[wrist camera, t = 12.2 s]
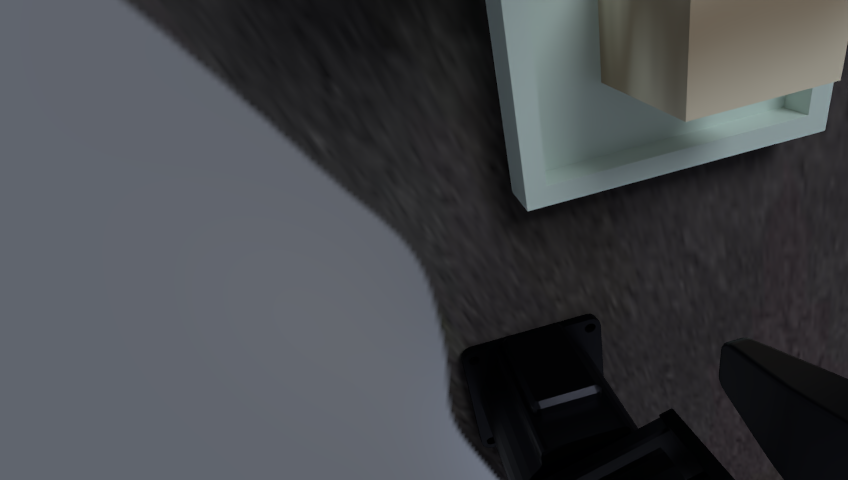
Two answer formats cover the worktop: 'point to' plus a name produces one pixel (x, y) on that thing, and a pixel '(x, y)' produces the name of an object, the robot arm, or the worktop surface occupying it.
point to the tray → (607, 110)
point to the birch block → (719, 50)
